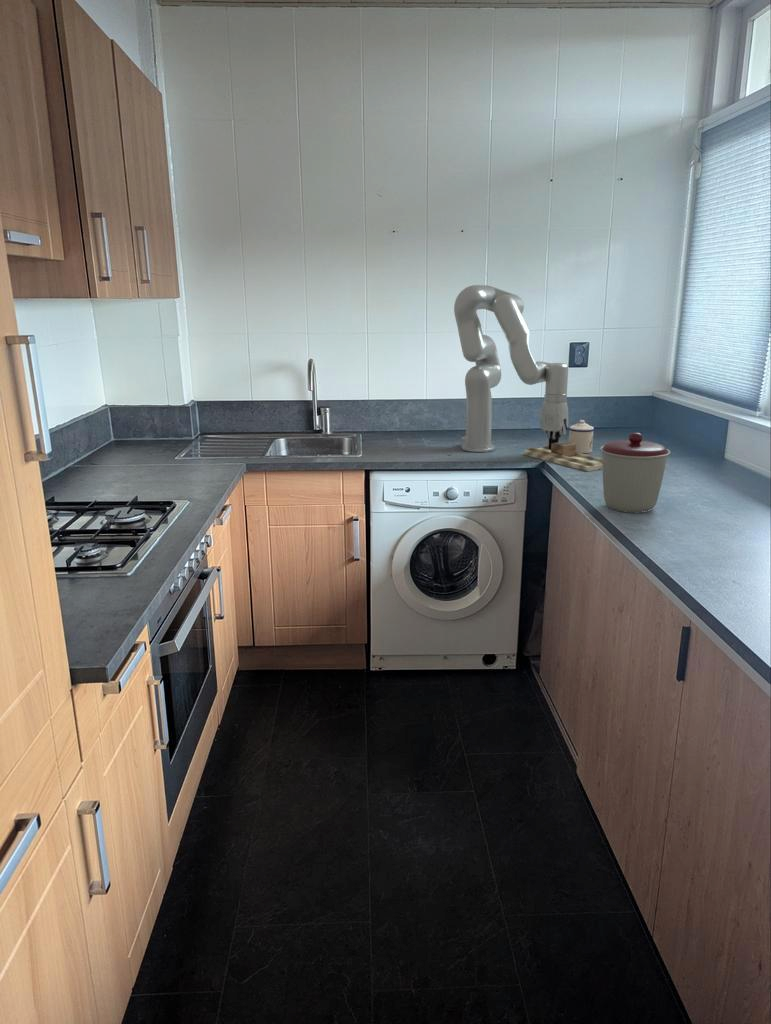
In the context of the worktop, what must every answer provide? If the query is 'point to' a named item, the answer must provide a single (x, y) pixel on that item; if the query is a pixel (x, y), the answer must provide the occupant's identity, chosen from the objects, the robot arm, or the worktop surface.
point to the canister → (632, 473)
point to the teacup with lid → (581, 437)
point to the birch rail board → (566, 459)
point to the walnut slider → (563, 448)
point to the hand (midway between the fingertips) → (553, 449)
